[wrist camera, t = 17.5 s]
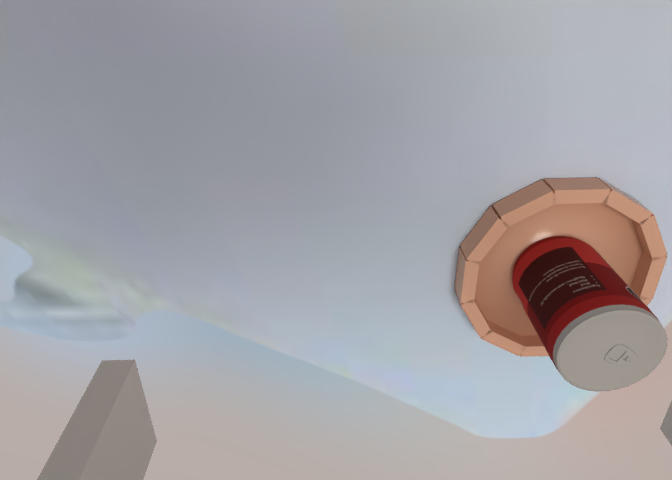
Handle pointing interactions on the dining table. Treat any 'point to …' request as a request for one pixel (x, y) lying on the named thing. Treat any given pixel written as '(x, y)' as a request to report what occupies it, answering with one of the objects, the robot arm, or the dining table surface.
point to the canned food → (587, 315)
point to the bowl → (543, 222)
